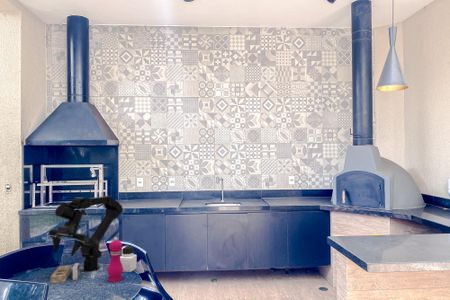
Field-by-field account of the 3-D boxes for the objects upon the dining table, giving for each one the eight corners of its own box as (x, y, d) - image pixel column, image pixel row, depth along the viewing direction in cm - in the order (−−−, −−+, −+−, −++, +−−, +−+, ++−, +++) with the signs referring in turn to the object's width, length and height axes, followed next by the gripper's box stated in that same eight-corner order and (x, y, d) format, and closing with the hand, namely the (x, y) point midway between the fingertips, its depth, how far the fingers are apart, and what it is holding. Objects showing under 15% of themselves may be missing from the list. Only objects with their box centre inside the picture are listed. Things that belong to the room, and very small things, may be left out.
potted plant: (136, 268, 182) (136, 245, 182) (130, 272, 175) (131, 248, 175) (123, 267, 183) (124, 244, 183) (117, 271, 176) (118, 247, 176)
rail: (71, 271, 176) (71, 265, 176) (64, 282, 159) (64, 275, 159) (58, 272, 174) (58, 266, 174) (50, 283, 158) (50, 276, 158)
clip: (79, 275, 170) (79, 262, 170) (77, 279, 163) (77, 267, 163) (75, 275, 169) (75, 263, 169) (72, 280, 162) (72, 267, 162)
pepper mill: (118, 282, 159) (118, 239, 159) (104, 281, 160) (104, 238, 161) (125, 277, 166) (126, 236, 167) (112, 277, 167) (112, 235, 168)
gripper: (47, 215, 165) (35, 248, 158) (83, 221, 162) (72, 254, 156) (60, 220, 175) (49, 251, 169) (93, 225, 172) (83, 257, 166)
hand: (62, 253), depth 164 cm, fingers open, 9 cm apart
